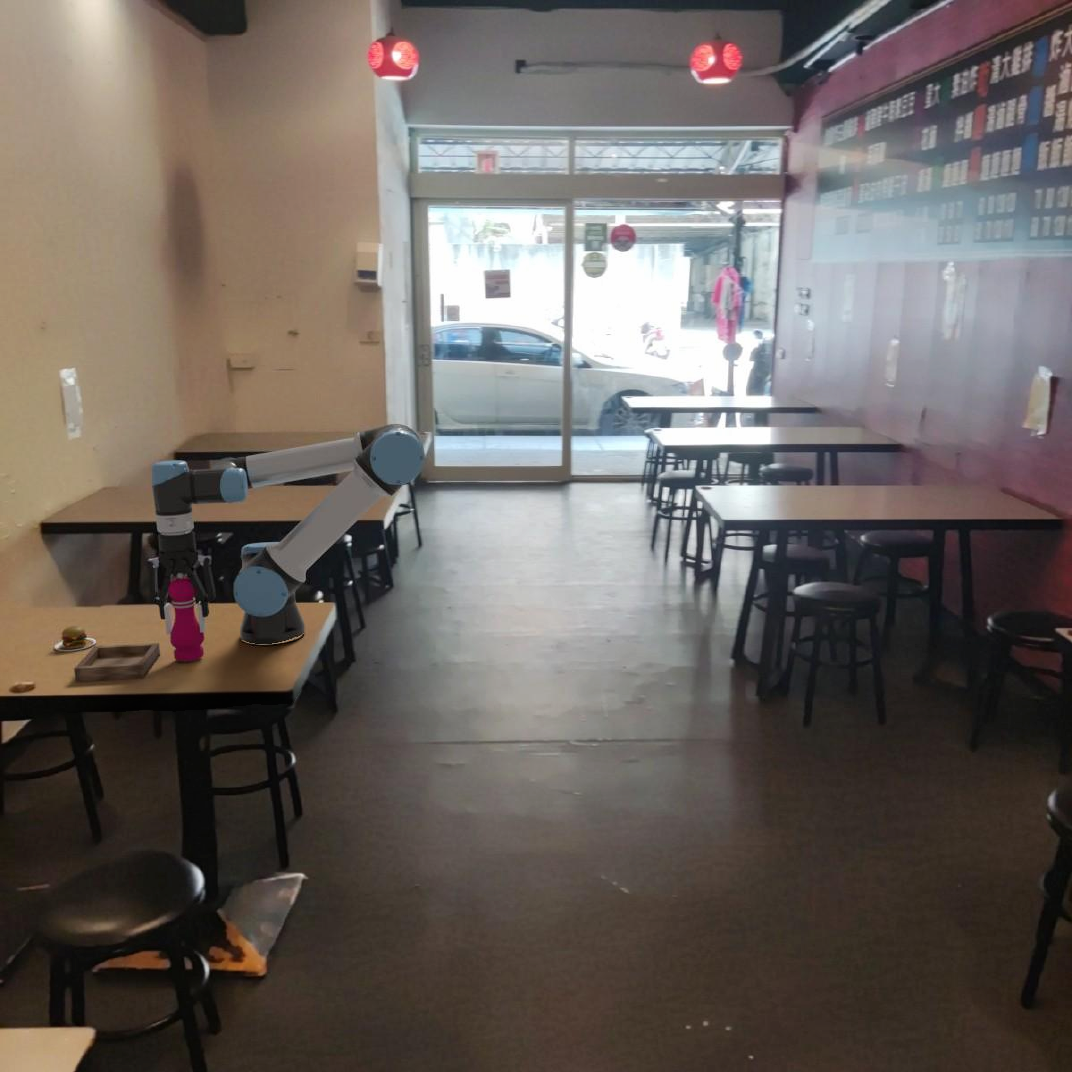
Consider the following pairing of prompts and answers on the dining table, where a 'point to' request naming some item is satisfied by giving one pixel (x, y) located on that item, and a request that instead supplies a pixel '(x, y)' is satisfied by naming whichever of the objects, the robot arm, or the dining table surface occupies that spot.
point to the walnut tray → (117, 662)
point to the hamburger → (74, 639)
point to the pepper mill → (185, 620)
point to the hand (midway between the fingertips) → (186, 631)
